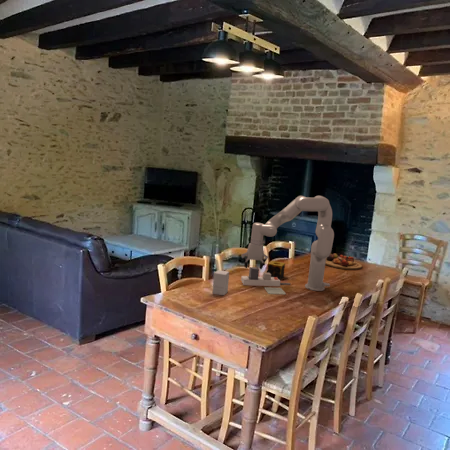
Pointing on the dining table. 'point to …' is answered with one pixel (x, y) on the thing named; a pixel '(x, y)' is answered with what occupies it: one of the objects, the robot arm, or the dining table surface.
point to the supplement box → (220, 282)
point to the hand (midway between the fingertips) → (253, 268)
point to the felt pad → (274, 290)
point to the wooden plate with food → (342, 262)
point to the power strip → (262, 281)
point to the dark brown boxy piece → (276, 269)
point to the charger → (253, 273)
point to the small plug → (267, 276)
